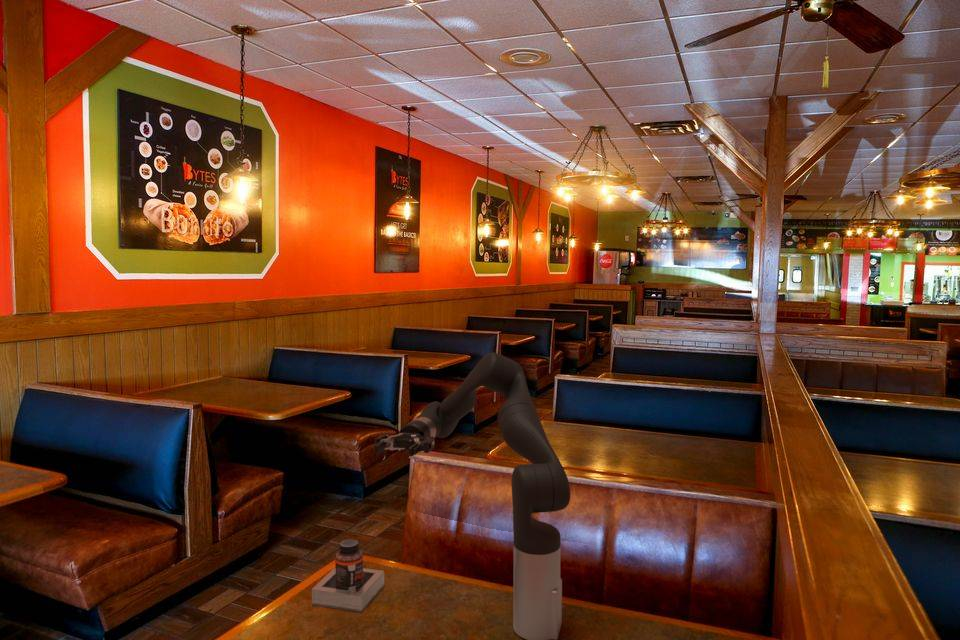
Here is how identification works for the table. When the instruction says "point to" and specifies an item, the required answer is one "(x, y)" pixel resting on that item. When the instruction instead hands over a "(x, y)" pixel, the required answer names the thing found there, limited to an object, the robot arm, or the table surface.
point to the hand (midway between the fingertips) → (393, 451)
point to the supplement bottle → (349, 566)
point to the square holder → (345, 599)
